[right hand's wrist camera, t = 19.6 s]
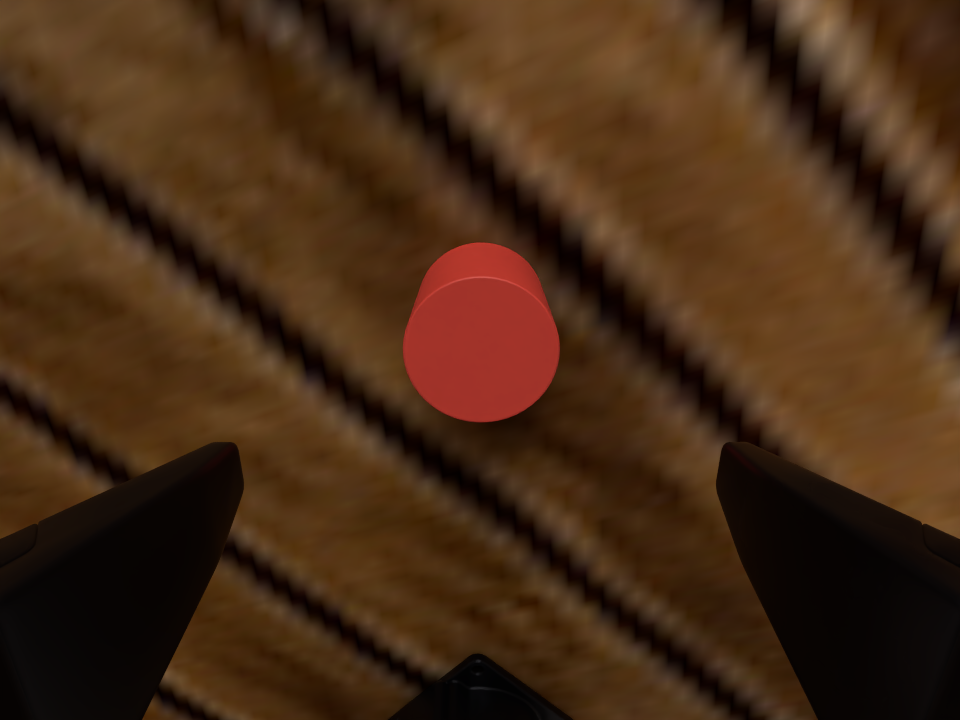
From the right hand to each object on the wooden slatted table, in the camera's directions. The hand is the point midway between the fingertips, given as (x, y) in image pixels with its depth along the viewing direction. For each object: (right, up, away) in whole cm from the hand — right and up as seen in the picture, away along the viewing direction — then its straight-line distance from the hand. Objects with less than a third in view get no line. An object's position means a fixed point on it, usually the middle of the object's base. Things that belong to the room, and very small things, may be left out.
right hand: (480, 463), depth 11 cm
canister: (0, +4, +10) cm, 10 cm away
